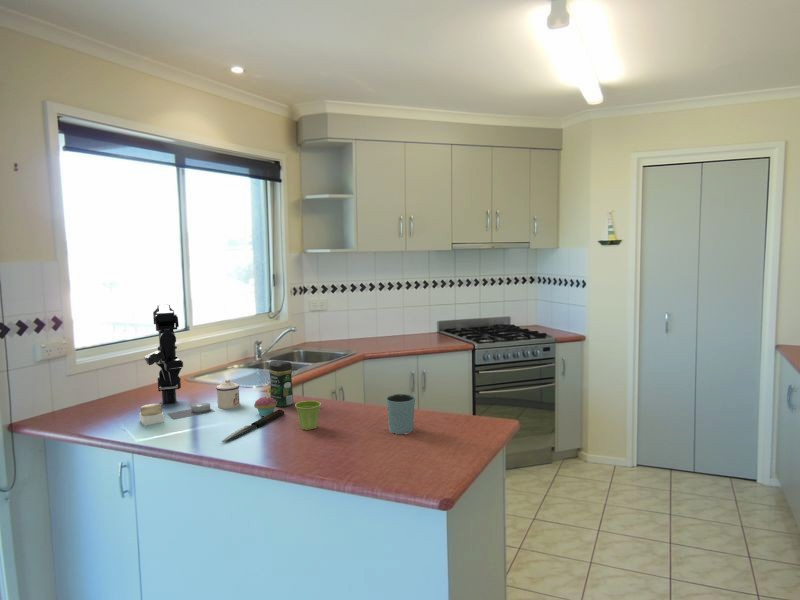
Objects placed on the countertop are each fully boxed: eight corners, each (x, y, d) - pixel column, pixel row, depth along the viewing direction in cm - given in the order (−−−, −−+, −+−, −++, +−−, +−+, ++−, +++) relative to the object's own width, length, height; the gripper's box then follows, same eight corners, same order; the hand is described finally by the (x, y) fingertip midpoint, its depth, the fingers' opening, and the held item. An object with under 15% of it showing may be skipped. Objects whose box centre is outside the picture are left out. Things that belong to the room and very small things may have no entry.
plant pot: (326, 424, 205) (325, 401, 204) (314, 432, 196) (313, 408, 195) (303, 422, 208) (303, 399, 207) (290, 430, 199) (290, 406, 198)
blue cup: (412, 425, 202) (411, 392, 201) (418, 434, 192) (418, 400, 191) (384, 427, 200) (383, 395, 199) (390, 437, 190) (389, 402, 189)
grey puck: (187, 411, 223) (187, 405, 223) (203, 407, 229) (203, 401, 229) (198, 414, 219) (197, 408, 219) (214, 410, 224) (213, 404, 224)
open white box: (139, 423, 212) (139, 412, 211) (159, 419, 216) (158, 409, 215) (144, 427, 206) (143, 417, 206) (164, 423, 210) (163, 413, 210)
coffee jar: (267, 404, 233) (265, 361, 232) (282, 400, 239) (280, 357, 238) (281, 408, 227) (279, 363, 225) (296, 404, 233) (295, 360, 231)
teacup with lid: (238, 409, 227) (237, 381, 225) (215, 411, 225) (213, 382, 224) (242, 402, 238) (241, 375, 237) (220, 403, 237) (219, 376, 236)
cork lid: (138, 413, 211) (138, 406, 211) (158, 409, 216) (158, 402, 215) (144, 417, 205) (143, 410, 205) (164, 413, 210) (163, 406, 210)
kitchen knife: (273, 408, 220) (284, 409, 219) (273, 414, 221) (284, 415, 219) (215, 438, 187) (227, 439, 185) (215, 444, 187) (228, 445, 186)
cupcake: (281, 413, 220) (280, 383, 219) (267, 419, 213) (266, 388, 212) (264, 411, 224) (263, 381, 223) (250, 416, 216) (248, 386, 215)
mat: (166, 415, 221) (166, 413, 221) (206, 408, 230) (206, 406, 230) (173, 421, 213) (173, 419, 213) (215, 413, 222) (215, 411, 222)
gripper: (139, 343, 222) (142, 381, 223) (151, 349, 207) (154, 390, 208) (168, 340, 228) (171, 377, 230) (182, 345, 214) (184, 385, 215)
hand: (169, 382), depth 221 cm, fingers open, 9 cm apart
